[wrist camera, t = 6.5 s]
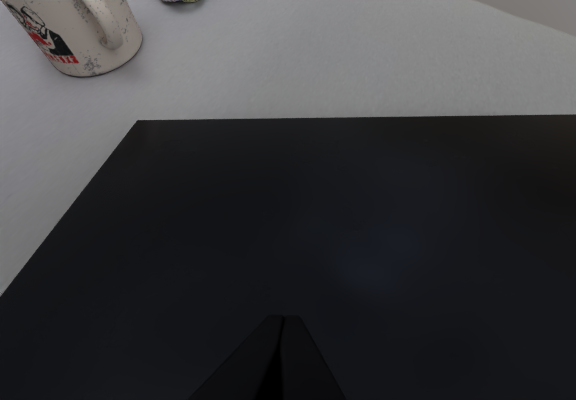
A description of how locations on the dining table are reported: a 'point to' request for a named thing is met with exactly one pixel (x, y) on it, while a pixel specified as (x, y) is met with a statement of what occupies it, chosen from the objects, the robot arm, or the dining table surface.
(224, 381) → the robot arm
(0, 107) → the dining table surface
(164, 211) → the laptop screen
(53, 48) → the teacup with lid
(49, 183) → the dining table surface
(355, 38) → the dining table surface
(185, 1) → the pacifier
